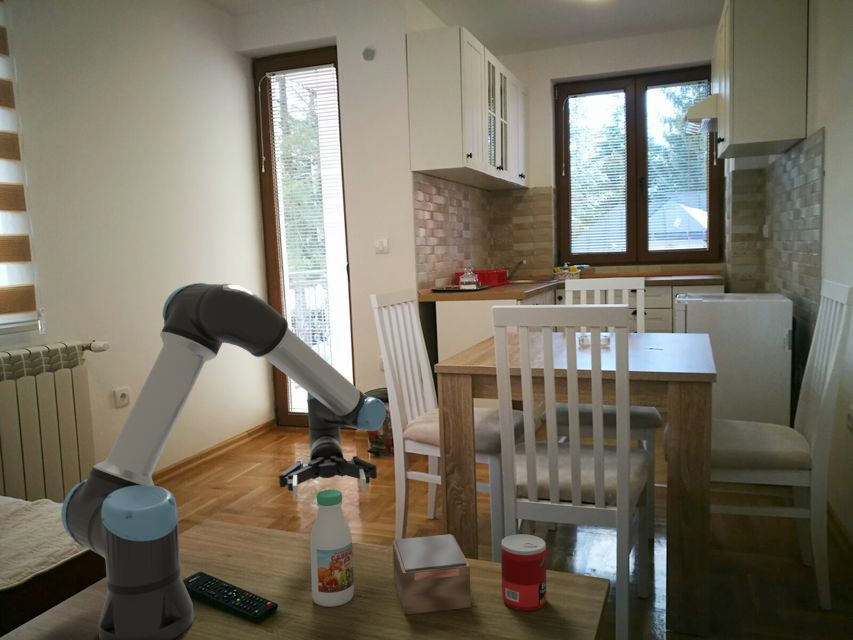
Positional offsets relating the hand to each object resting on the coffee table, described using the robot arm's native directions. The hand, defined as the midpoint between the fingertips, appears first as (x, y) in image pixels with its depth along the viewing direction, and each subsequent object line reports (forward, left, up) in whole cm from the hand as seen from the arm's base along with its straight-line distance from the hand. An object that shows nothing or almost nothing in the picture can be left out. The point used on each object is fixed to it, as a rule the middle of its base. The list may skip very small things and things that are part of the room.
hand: (329, 489), depth 133 cm
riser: (+18, -12, -17) cm, 27 cm away
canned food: (+34, -19, -17) cm, 42 cm away
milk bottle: (0, -10, -17) cm, 20 cm away
